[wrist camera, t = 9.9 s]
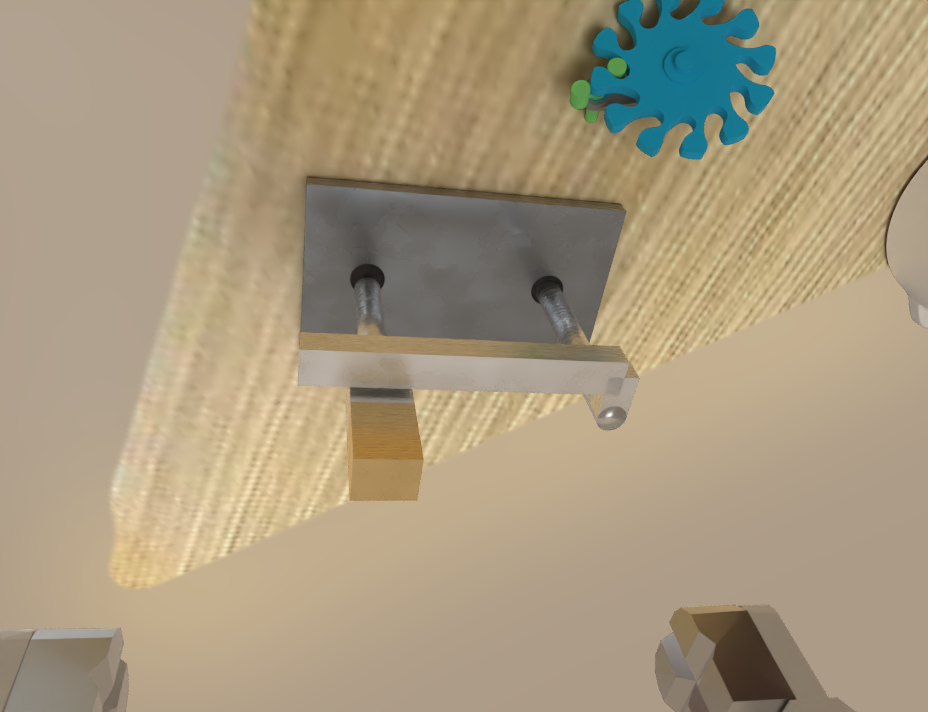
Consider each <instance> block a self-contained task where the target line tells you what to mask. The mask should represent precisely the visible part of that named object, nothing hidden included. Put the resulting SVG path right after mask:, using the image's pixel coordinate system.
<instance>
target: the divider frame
mask: <svg viewBox="0 0 928 712" xmlns="http://www.w3.org/2000/svg"><path fill="white" fill-rule="evenodd" d="M536 296H537V298H538V300H539V302H540V304H541V306H542V308H543V311H544V313H545V315H546V317H547V319H548V321H549V323H550V325H551V328H552V330H553V332H554V334H555V336H556V338H557V340H558V342H559V344H555V343H532V342H510V341H488V340H466V339H444V338H422V337H400V336H378V335H355V334H333V333H311V332H300V342H299V366H298V386H329V387H362V388H395V389H428V390H460V391H493V392H526V393H558V394H583V395H584V397H585V399H586V401H587V404H588V406H589V408H590V410H591V412H592V414H593V416H594V418H595V420H596V423H597V425H598V426H599V427H600V428H601V429H603V430H614V429H617V428H618V427H620V426H621V425H622V424H623V423H624V422H625V420H626V417H627V414H628V411H629V408H630V405H631V402H632V399H633V396H634V394H635V391H636V388H637V385H638V382H639V379H640V378H639V376H638V375H637V373H636V371H635V370H634V368H633V366H632V365H631V363H630V362H629V361H628V359H627V358H626V356H625V354H624V353H623V351H622V349H621V348H620V346H599V345H590V344H589V342H588V340H587V338H586V336H585V335H584V333H583V331H582V329H581V327H580V325H579V323H578V321H577V320H576V318H575V316H574V314H573V312H572V310H571V308H570V306H569V305H568V303H567V301H566V299H565V297H564V295H563V293H562V292H561V290H560V288H559V286H558V284H557V283H556V282H555V281H552V280H546V281H543V282H541V283H540V284H539V285H538V286H537V288H536Z"/></svg>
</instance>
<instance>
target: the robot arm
mask: <svg viewBox="0 0 928 712" xmlns="http://www.w3.org/2000/svg"><path fill="white" fill-rule="evenodd" d="M886 251H887V259H888V264H889V267H890V270H891V272H892V274H893V276H894V277H895V279H896V280H897V281H898V283H899V284H900V285H901V286H902V287H903V288H904V290H905V291H906V292H907V294H908V296H909V308H910V314H911V317H912V319H913V321H914V322H916V323H918V324H919V325H921V326H922V327H924V328H928V160H927V161H926V162H925V164H924V165H923V166H922V167H921V168H920V169H919V171H918V172H917V173H916V174H915V176H914V177H913V178H912V180H911V181H910V183H909V184H908V186H907V187H906V189H905V191H904V192H903V194H902V196H901V198H900V200H899V201H898V204H897V206H896V208H895V210H894V213H893V216H892V218H891V222H890V225H889V229H888V235H887V244H886ZM669 623H670V625H671V627H672V630H673V632H672V633H670V634H669V635H668V636H666V637H665V638H664V639H662V640H661V641H660V644H659V647H658V649H657V652H656V654H655V674H656V678H657V683H658V687H659V690H660V692H661V695H662V697H663V700H664V702H665V703H666V704H667V705H668V706H669V707H671V708H672V709H673V710H674V711H675V712H856V711H854V710H853V709H852V708H850V707H849V706H848V705H846V704H845V703H844V702H842V701H841V700H840V699H839V698H837V697H835V698H829V697H828V696H827V694H826V692H825V691H824V689H823V688H822V686H821V684H820V682H819V681H818V679H817V677H816V676H815V674H814V672H813V671H812V669H811V667H810V666H809V664H808V662H807V661H806V659H805V657H804V656H803V654H802V652H801V651H800V649H799V647H798V646H797V644H796V642H795V641H794V639H793V637H792V636H791V634H790V633H789V631H788V629H787V628H786V626H785V624H784V623H783V621H782V619H781V618H780V616H779V614H778V613H777V612H776V610H775V609H773V608H772V607H771V606H769V605H744V606H736V605H722V606H704V607H684V608H680V609H678V610H677V611H675V612H674V614H673V616H672V618H671V620H670V622H669ZM123 645H124V641H123V636H122V631H121V628H78V629H75V628H74V629H18V630H17V629H16V630H0V712H126V707H127V699H128V668H127V663H125V662H124V661H122V660H121V659H120V657H121V653H122V649H123Z"/></svg>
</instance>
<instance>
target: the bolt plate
mask: <svg viewBox="0 0 928 712" xmlns="http://www.w3.org/2000/svg"><path fill="white" fill-rule="evenodd" d="M625 215H626V210H625V209H624V208H623V207H622V206H621V204H613V203H602V202H591V201H579V200H568V199H556V198H545V197H534V196H522V195H511V194H499V193H488V192H477V191H465V190H454V189H442V188H431V187H420V186H408V185H397V184H385V183H374V182H363V181H351V180H340V179H328V178H317V177H307V192H306V218H305V245H304V271H303V297H302V324H301V332H311V333H333V334H355V335H357V321H356V306H355V292H354V288H355V285H356V283H357V282H358V281H359V280H360V279H363V278H372V279H374V280H376V281H377V282H378V283H379V285H380V291H381V298H382V306H383V314H384V322H385V330H386V336H400V337H422V338H444V339H466V340H488V341H510V342H532V343H555V344H559V342H558V340H557V338H556V336H555V334H554V332H553V330H552V328H551V325H550V323H549V321H548V319H547V317H546V315H545V313H544V311H543V308H542V306H541V304H540V302H539V300H538V298H537V296H536V288H537V286H538V285H539V284H540V283H541V282H543V281H546V280H552V281H555V282H556V283H557V284H558V286H559V288H560V290H561V292H562V293H563V295H564V297H565V299H566V301H567V303H568V305H569V306H570V308H571V310H572V312H573V314H574V316H575V318H576V320H577V321H578V323H579V325H580V327H581V329H582V331H583V333H584V335H585V336H586V338H587V340H588V342H590V338H591V335H592V331H593V328H594V324H595V321H596V317H597V313H598V310H599V306H600V303H601V299H602V296H603V292H604V289H605V285H606V282H607V278H608V275H609V271H610V268H611V264H612V260H613V257H614V253H615V250H616V246H617V243H618V239H619V236H620V232H621V229H622V225H623V222H624V218H625Z"/></svg>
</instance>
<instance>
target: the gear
mask: <svg viewBox="0 0 928 712" xmlns="http://www.w3.org/2000/svg"><path fill="white" fill-rule="evenodd" d="M680 1H681V0H656V4H657V7H658V9H659V21H658V23H657V25H656V26H655V27H653V28H651V29H646V28H644V27H642V26H641V25H640V23H639V21H640V19H641V15H642V11H643V4H642V2H641V0H629V1H626V2H624V3H622V4H620V5H619V10H618V15H617V18H618V21H619V23H620V24H621V25H623V26H624V27H625V28H626V29H627V30H628V31H629V33H630V34H631V36H632V38H633V42H634V48H633V49H632V50H623V49H621V48H620V47H619V45H618V40H617V35H616V33H615V32H614V31H613V30H612V29H610V28H605V29H603V30H602V31H601V32H600V33H599V34H598V36H597V37H596V38H595V40H594V42H593V47H592V51H593V53H594V54H595V55H596V56H598V57H601V58H607V59H610V61H609V63H608V66H607V69H606V68H604V67H600V66H599V67H594V69H593V71H592V75H591V79H590V80H588V81H585V80H577V81H575V82H574V83H573V85H572V87H571V94H570V104H571V106H572V107H573V108H575V109H583V108H587V109H586V114H585V119H586V121H587V122H589V123H593V122H595V121H596V120H597V117H598V112H599V111H600V110H605V114H604V119H605V122H606V125H607V127H608V129H609V130H610V132H611V133H617V132H620V131H621V130H622V129H623V128H624V127H625V126H626V125H627V124H629V123H630V122H632V121H633V120H636V119H639V118H643V117H656V118H657V119H658V120H659V121H660V122H661V125H660V126H658V127H653V128H647V129H644V130H643V131H642V132H641V133H640V134H639V137H638V140H637V143H636V145H637V147H638V148H639V149H640V150H641V151H642V152H644V153H645V154H647V155H649V156H651V157H653V156H655V155H656V154H657V153H658V152H659V150H660V148H661V145H662V143H663V138H664V136H665V135H666V133H667V132H668V131H669V130H670V129H672V128H673V127H674V126H676V125H677V124H679V123H687V124H689V125H690V126H691V127H692V129H693V132H692V133H690V134H689V135H687V136H686V137H685V138H684V140H683V142H682V144H681V146H680V148H679V154H680V156H681V157H684V158H688V159H701V158H702V157H703V155H704V153H705V151H706V149H707V141H706V138H705V135H704V122H705V119H706V116H707V115H709V114H713V113H714V114H718V115H720V116H721V117H722V119H723V126H722V129H721V131H720V135H719V137H720V140H721V142H722V143H723V144H724V145H730V144H734V143H736V142H738V141H740V140H742V139H744V138H745V136H746V135H747V133H748V131H749V128H748V124H747V123H746V122H745V121H744V120H743V119H742V118H740V117H739V116H738V115H737V113H736V112H735V110H734V109H733V107H732V104H731V100H730V94H729V93H731V92H739V93H741V94H742V95H743V97H744V99H745V105H746V108H747V110H748V111H749V112H750V113H751V114H754V115H758V114H759V113H761V112H762V111H763V110H764V108H765V107H766V106H767V104H768V103H769V101H770V100H771V98H772V97H773V95H774V91H773V90H772V89H771V88H770V87H769V86H766V85H760V84H757V83H754V82H752V81H750V80H748V79H747V78H746V77H745V76H744V75H743V74H742V73H741V72H740V71H739V70H738V69H737V67H736V64H738V63H744V64H746V65H747V66H748V67H749V68H750V69H751V70H752V71H753V72H754V73H755V74H757V75H761V76H764V75H768V73H769V71H770V70H771V68H772V67H773V64H774V62H775V56H776V48H775V47H773V46H770V45H763V46H761V47H757V48H742V47H738V46H735V45H733V44H730V43H729V42H727V40H726V39H725V37H727V36H734V37H737V38H740V39H750V38H752V37H753V36H754V35H755V33H756V31H757V30H758V28H759V22H758V19H757V17H756V15H755V13H754V12H753V10H752V9H745V10H742V11H741V12H740V13H739V14H738V15H737V16H736V17H735V18H733V19H732V20H730V21H728V22H726V23H722V24H717V25H706V24H704V23H703V22H702V20H701V18H704V17H710V16H715V15H717V14H718V13H719V12H720V11H721V9H722V7H723V4H724V2H725V0H699V3H698V6H697V8H696V9H695V10H694V11H693V12H692V13H691V14H689V15H688V16H687V17H685V18H683V19H680V20H678V19H674V18H673V17H672V16H671V15H670V13H671V12H673V11H674V10H675V9H677V7H678V6H679V4H680ZM625 72H626V74H627V75H628V76H627V77H624V76H625ZM633 106H634V107H633Z"/></svg>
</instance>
